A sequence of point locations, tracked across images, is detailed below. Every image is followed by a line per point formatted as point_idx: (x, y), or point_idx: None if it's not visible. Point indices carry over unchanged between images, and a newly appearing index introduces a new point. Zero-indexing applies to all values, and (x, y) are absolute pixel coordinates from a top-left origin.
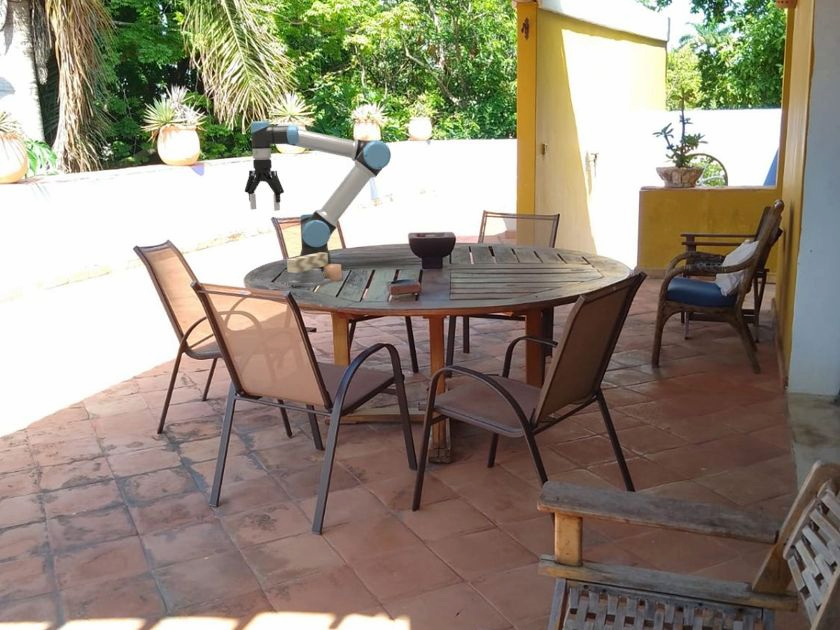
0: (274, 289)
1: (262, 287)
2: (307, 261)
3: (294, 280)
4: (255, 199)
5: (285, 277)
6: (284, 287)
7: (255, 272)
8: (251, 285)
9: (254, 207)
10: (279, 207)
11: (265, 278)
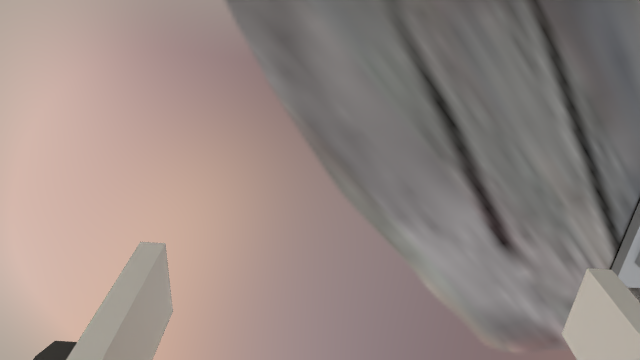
0: None
1: (527, 333)
2: None
3: (631, 260)
4: (109, 351)
5: (509, 153)
6: None
7: (283, 104)
8: (466, 322)
9: (160, 286)
10: (629, 299)
11: (432, 204)
